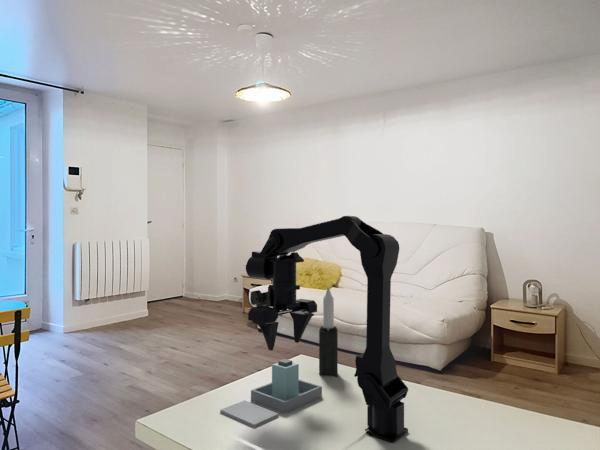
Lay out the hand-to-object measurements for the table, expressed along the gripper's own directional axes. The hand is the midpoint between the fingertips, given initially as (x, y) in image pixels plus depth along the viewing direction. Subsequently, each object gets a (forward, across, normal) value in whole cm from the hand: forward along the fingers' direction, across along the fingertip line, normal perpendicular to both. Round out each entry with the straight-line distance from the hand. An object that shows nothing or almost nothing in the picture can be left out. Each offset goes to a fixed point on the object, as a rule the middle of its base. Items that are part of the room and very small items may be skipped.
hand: (284, 346), depth 102 cm
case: (+13, 0, +1) cm, 13 cm away
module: (+12, 0, 0) cm, 12 cm away
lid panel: (+13, +12, 0) cm, 17 cm away
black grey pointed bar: (+13, -22, -3) cm, 26 cm away
